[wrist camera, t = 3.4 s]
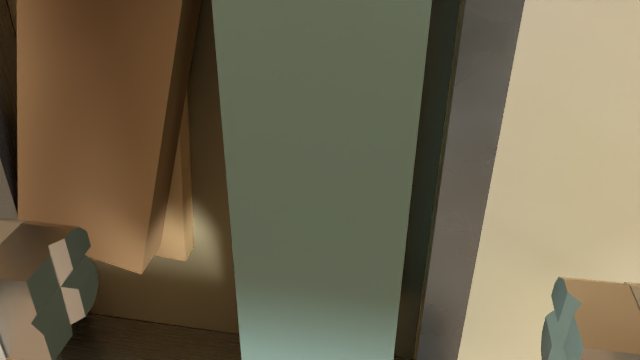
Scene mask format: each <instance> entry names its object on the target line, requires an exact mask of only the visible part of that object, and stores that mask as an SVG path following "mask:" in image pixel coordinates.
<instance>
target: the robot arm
mask: <svg viewBox="0 0 640 360" xmlns="http://www.w3.org/2000/svg"><path fill="white" fill-rule="evenodd" d="M90 247H91V244H90V241H89V237H88V234H87V231H86V230H84V229H82V228H81V227H76V226H69V225H61V224H53V223H45V222H37V221H26V220H18V219H10V218H4V219H0V360H6V358H9V359H18V360H55V359H56V358H57V357H58V355H59V354H60V352H61V351H62V349H63V348H64V347H65V345H66V344H67V342H68V341H69V340H70V338H71V337H72V335H73V333H72V327H71V324H73V323H75V322H77V321H78V320H80V319H82V318H84V317H86V315H87V314H88V312H89V311H90V309H91V308H92V306H93V305H94V301H95V298H96V295H97V291H98V273H97V268H96V265H95V264H94V263H93V262H92V261H91V260H90V259H89V258H88V257H87V256H86V253H87V252H88V250H89V249H90ZM551 297H552V301H553V305H554V309H555V310H554V311H552V312H551V313H550V314H548V315H547V316H546V317H545V322H544V326H543V330H542V340H541V356H542V360H640V284H639V283H627V282H625V283H616V282H606V281H596V280H586V279H576V278H566V277H558V279H557V281H556V282H555V285H554V288H553V292H552V295H551Z"/></svg>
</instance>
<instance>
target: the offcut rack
mask: <svg viewBox="0 0 640 360" xmlns="http://www.w3.org/2000/svg"><path fill="white" fill-rule="evenodd" d="M524 1H525V0H460V8H459V15H458V23H457V30H456V38H455V46H454V53H453V61H452V68H451V76H450V83H449V91H448V99H447V106H446V114H445V121H444V129H443V136H442V144H441V152H440V159H439V167H438V174H437V182H436V189H435V197H434V204H433V212H432V220H431V227H430V235H429V242H428V250H427V257H426V265H425V273H424V280H423V288H422V295H421V303H420V310H419V318H418V325H417V333H416V341H415V348H414V356H413V359H406V358H399V357H394V359H393V360H457V358H458V353H459V347H460V342H461V337H462V331H463V326H464V321H465V315H466V310H467V305H468V299H469V294H470V289H471V283H472V278H473V273H474V267H475V262H476V257H477V251H478V246H479V241H480V235H481V230H482V225H483V219H484V214H485V209H486V204H487V198H488V193H489V188H490V182H491V177H492V172H493V166H494V161H495V156H496V150H497V145H498V140H499V134H500V129H501V124H502V118H503V113H504V108H505V102H506V97H507V92H508V86H509V81H510V76H511V70H512V65H513V60H514V54H515V49H516V44H517V38H518V33H519V28H520V22H521V17H522V12H523V6H524ZM4 218H10V219H18V161H17V40H16V37H15V33H14V29H13V25H12V21H11V17H10V14H9V10H8V6H7V2H6V0H0V219H4ZM71 327H72V333H73V335H72V337H71V338H70V340H69V341H68V342H67V344H66V345H65V347H64V348H63V349H62V351H61V352H60V354H59V355H58V357H57V358H56V359H55V360H242V359H241V347H240V335H236V334H229V333H222V332H215V331H207V330H200V329H193V328H186V327H179V326H172V325H165V324H158V323H151V322H144V321H136V320H129V319H122V318H115V317H108V316H101V315H94V314H87V315H86V317H84V318H82V319H80V320H78V321H77V322H75V323H73V324H71Z"/></svg>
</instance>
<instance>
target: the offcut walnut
mask: <svg viewBox="0 0 640 360" xmlns="http://www.w3.org/2000/svg"><path fill="white" fill-rule="evenodd" d="M201 1H202V0H17V161H18V220H26V221H37V222H45V223H53V224H61V225H69V226H76V227H81V228H82V229H84V230H86V231H87V234H88V237H89V241H90V244H91V247H90V249H89V250H88V252H87V253H86V256H87V257H90V258H93V259H96V260H99V261H102V262H105V263H108V264H111V265H114V266H117V267H120V268H123V269H126V270H129V271H132V272H135V273H138V274H141V275H142V273H143V272H144V270H145V268H146V267H147V265H148V264H149V262H150V261H151V259H152V258H153V256H154V255H155V253H156V252H157V250H158V248H159V247H160V245H161V240H162V234H163V228H164V222H165V216H166V210H167V204H168V198H169V192H170V186H171V180H172V174H173V168H174V162H175V156H176V150H177V144H178V138H179V132H180V126H181V121H182V115H183V109H184V103H185V97H186V91H187V85H188V79H189V73H190V67H191V61H192V55H193V49H194V43H195V37H196V31H197V25H198V19H199V13H200V7H201Z"/></svg>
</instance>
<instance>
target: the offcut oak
mask: <svg viewBox="0 0 640 360" xmlns="http://www.w3.org/2000/svg"><path fill="white" fill-rule="evenodd" d="M193 248H194V238H193V213H192V188H191V163H190V138H189V113H188V88H187V91H186V97H185V103H184V109H183V115H182V121H181V126H180V132H179V138H178V144H177V150H176V156H175V162H174V168H173V174H172V180H171V186H170V192H169V198H168V204H167V210H166V216H165V222H164V228H163V234H162V240H161V245H160V247H159V248H158V250H157V252H156V253H155V255H154V256H159V257H164V258H170V259H175V260H181V261H186V260H187V258H188V257H189V255H190V253H191V251H192V250H193Z"/></svg>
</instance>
